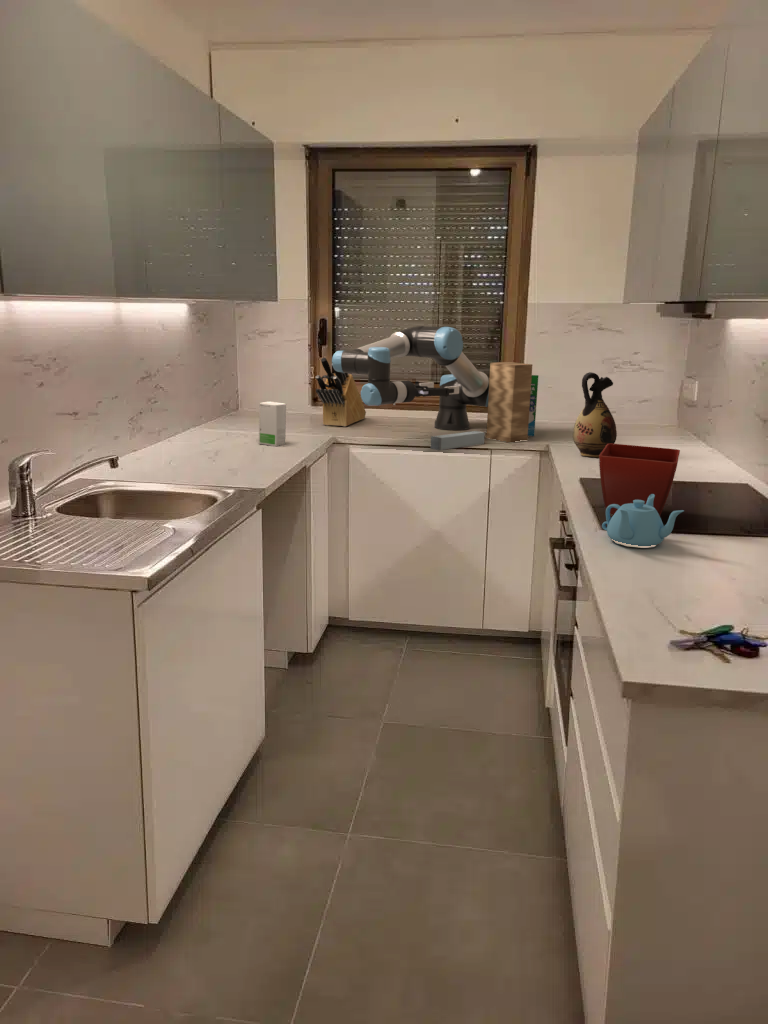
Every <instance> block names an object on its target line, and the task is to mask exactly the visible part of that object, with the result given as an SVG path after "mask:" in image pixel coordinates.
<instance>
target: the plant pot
mask: <svg viewBox="0 0 768 1024" xmlns="http://www.w3.org/2000/svg"><path fill="white" fill-rule="evenodd" d="M680 452H681V450H680V449H679V448H678V449H676V448H668V447H667V448H665V447H657V446H644V445H634V444H631V445H630V444H622V443H614V444H612V443H610V444H607V445H606V446H605V448H604V449H603V451H602V452H601V453H600V455H599V457H598V461H599V462H598V463H599V464H598V466H599V477H600V485H601V487H600V488H601V493H602V499H603V503H604V504H603V505H604V509H605V510H606V508H607V507H608V506H609V505H611V504H617V505H619V506H622V505H623V504H628V503H633V500H643V501H645V503H644V504H645V505H646V502H647V500H648V497H649V496H650V495H651V494H654V495H655V497H654V501H653V507H654V508H655V509H656V511H657V512H658V514H659V516H660V517H661V514H662V512H663V509H664V507H665V505H666V503H667V500H668V497H669V494H670V492H671V489H672V486H673V482H674V479H675V475H676V471H677V468H678V463H679V458H680ZM617 510H618V509H617V508H614V507H612V508H611V509H610V513H611V514H615V512H616V511H617Z"/></svg>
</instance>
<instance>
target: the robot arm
mask: <svg viewBox="0 0 768 1024" xmlns="http://www.w3.org/2000/svg"><path fill="white" fill-rule="evenodd" d="M463 349H464V340H463V336H462V333H461V332H460V330H459V329H457V328H454V327H450V326H432V325H431V326H429V325H428V326H425V325H417V326H412V327H408V328H404V329H401V330H398V331H395V332H393V333H392V334H391V335H390V336H389V337H387V338H383V339H381V340H378V341H375V342H372V343H368V344H366V345H362V346H360V347H356V348H353V349H350V350H345V349H344V350H337V351H335V353H333V355H332V358H331V362H332V363H331V366H332V368H333V370H335V371H337V372H343V373H348V374H355V375H366V376H367V377H368V378H367V383H365V384H364V385H363V386H362V387H361V390H360V397H361V400H362V403H363V404H364V405H366V406H369V407H372V406H377V407H379V406H384V405H391V404H392V405H393V406H396V404H401V403H411V402H412V401H414V399H415V397H416V398H420V397H439V402H438V403H439V405H438V407H439V408H438V412H437V415H436V417H435V421H434V428H436V429H438V430H439V429H440V430H447V431H461V430H468V429H470V421H469V416H468V412H467V406H477V407H485V408H488V397H489V379H490V377H489V376H488V375H487V374H486V373H485V372H483V371H479V370H478V369H477V367H476V366H475V365H474V364H473V363H472V361H471V360H470V359H469V358H468V357H467V355H466V354H464V352H463ZM396 357H397V358H398V359H399V358H401V359H402V358H405V357H415V358H416V357H417V358H418V357H419V358H426V359H427V358H428V359H433V361H434V362H435V363H436V364H437V365H439V366H442V367H445V368H446V369H447V370H448V372H449V373H450V374H443V375H442V376H441V377H440V382H439V387H435V382H434V381H428V382H419V381H417V380H416V381H415V382H412V381H411V380H395V381H391V361H392V360H391V359H394V358H396Z"/></svg>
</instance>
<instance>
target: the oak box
mask: <svg viewBox="0 0 768 1024" xmlns="http://www.w3.org/2000/svg"><path fill="white" fill-rule="evenodd" d="M489 366H490V367H489V378H490V379H489V397H488V407H487V419H486V432H485V439H488V438H490V439H489V440H493V439H496V440H495V441H498V440H500V442H503V441H506V442H505V443H508V442H514V443H516V442H515V441H520V440H528V441H529V436H528V423H529V408H530V394H531V379H532V375H533V364H531V363H522V362H514V361H512V362H511V361H499V362H496V361H495V362H490V364H489Z"/></svg>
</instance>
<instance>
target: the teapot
mask: <svg viewBox="0 0 768 1024" xmlns="http://www.w3.org/2000/svg"><path fill="white" fill-rule="evenodd" d="M654 497H655V495H654V494H651V495H650V496H649V497H648V500H647V502H646V505H645V504H644V503H645V501H643V500H633V503H628V504H623V505H622V506H619V505H617V504H611V505H609V506H608V507H607V508H606V509H605V520H606V521H604V522H603V523H602V524H601V528H602V529H603V531H606V534H607V536H608V537H610V538H611V539H613V540H615V541H618V542H622V543H626V544H631V545H638V546H651V545H657V544H659V543H660V544H661V543H662V542H663V541H664V540H665V538H667V537H668V536H670V535H671V533H672V531H673V530H674V527H675V522H676V519H677V517H678V515H680V514H682V513H683V512H685V510H683V509H680V510H679V509H678V510H673V511H672V512H671V513H670V514H669V517H668V519H667V522H666V524H664V523H663V521H662V517H661V515H660V516H659V514H658V512H657V511H656V509H655V508H654V507H653V501H654ZM612 507H614V508H617V509H618V510H617V511H616V512H615V514H614V515H613V516H610V509H611V508H612ZM610 538H609V539H610ZM611 539H610V540H611ZM660 544H659V545H660Z"/></svg>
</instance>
